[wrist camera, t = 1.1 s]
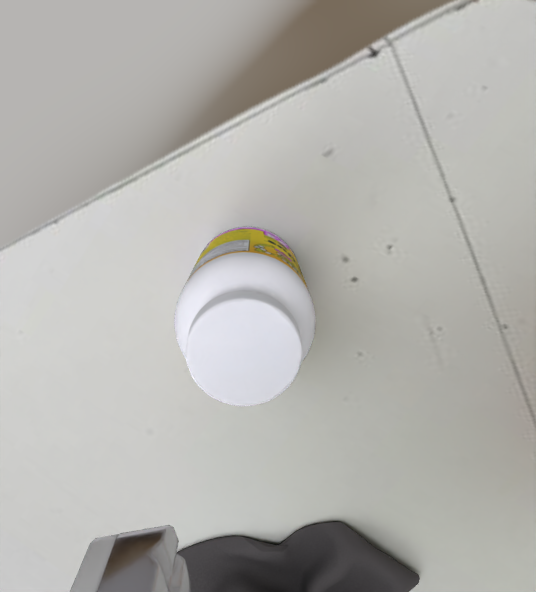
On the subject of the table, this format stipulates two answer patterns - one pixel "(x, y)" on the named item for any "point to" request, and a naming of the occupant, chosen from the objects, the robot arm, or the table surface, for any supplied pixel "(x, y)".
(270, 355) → the supplement bottle
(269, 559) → the cloth
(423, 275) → the table surface
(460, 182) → the table surface
